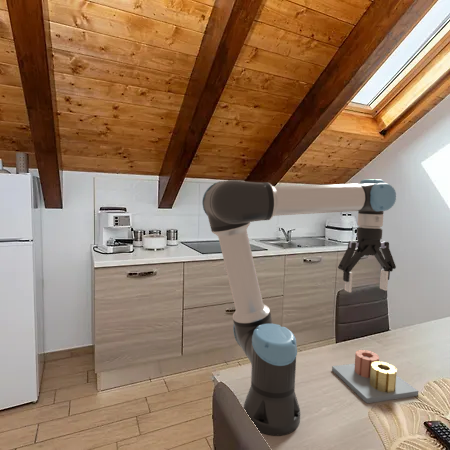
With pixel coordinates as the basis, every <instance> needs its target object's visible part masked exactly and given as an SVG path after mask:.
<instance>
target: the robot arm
mask: <svg viewBox="0 0 450 450" xmlns="http://www.w3.org/2000/svg"><path fill="white" fill-rule="evenodd" d="M396 201H397V193H396V190H395V188H394V187H393V186H392V184H389V183H387V182H385V181H384V180H383V179H377V178H376V179H373V178H371V179H369V178H367V179H362V180H360V182H359V183H345V184H344V183H339V184H338V183H337V184H315V185H314V184H310V185H307V184H306V185H279V186H275V185H272V184H271V183H270V182H255V181H244V180H237V179H231V180H223V181H222V180H221V181H217V182H215V183H213V184H211V185H210V186H209V187H208V188H207V189H206V190H205V192H204V193H203V196H202V202H201V203H202V208H203V212H204V213H205V214H206V216H207V217H208V222H209V227H210V231H211V233H212V234H214V235H216V236H217V238H218V240H219V247H220V249H221V253H222V254H221V255H222V258H223V262H224V267H225V270H226V275H227V279H228V283H229V287H230V291H231V292H230V293H231V295H232V300H233V304H234V308H235V311H234V312H233V313H232V321H233V329H232V331H233V335H234V339H235V341H236V343H237V345H239V347H240V348H241V349H242V351H243V353H244V355H246V357H247V359H248V360H249V362H250V364H251V370H250V371H251V376H250V379H251V380H250V387H249V390H248V392H247V395H246V397H245V400H244V404H243V410H244V409H245V410H246V412H247V414H248V415H249V417H250V418H251V420H252V421H253V422H254V424H255V425H256V427H257V428H258V430H259V431H260V433H262V434H266V435H269V436H270V435H271V436H283V435H284V436H285V435H289V434H291V433H292V432H294V431H296V429H297V428H298V427H299V425H300V424H301V423H300V422H301V408H300V405H299V402H298V398H297V394H296V392H295V391H296V390H295V389H296V388H295V386H296V372H297V371H296V368H297V355H298V346H297V339H296V336H295V335H294V333H293V331H291V330H290V329H289V328H288V327H285V326H281V325H280V324H278V323H274V322H273V319H272V318H273V317H272V314H271V309H270V307H269V306H268V305H266V304H265V303H264V302H263V301H264V300H263V297H262V292H261V289H260V288H261V287H260V284H259V280H258V279H259V278H258V274H257V270H256V266H255V265H256V264H255V262H254V257H253V253H252V252H253V251H252V248H251V244H250V240H249V234H248V227H249V226H250V224H251V223H254V222H261V221H271V219H273V217H275V216H279V217H280V216H293V215H310V214H312V215H313V214H328V213H329V214H330V213H345V212H346V213H347V212H358V215H357V229H356V237H357V241H356V242H355V241H351V240H349V241H348V243H347V248H346V250H345V252H344V255H343V256H342V258H341V260H340V263H339V264H338V266H337V268H338V270H341V271H343V272H342V273H343V276H342V280H343V282H344V291H346V292H347V293H352V289H353V288H352V286H353V272H352V270H353V269H354V267H356V265H357V264H358V263H359V261H360V260H361V258H364V257H365V256H366V257H367V256H374V257H375V259H376V261H377V262H378V264H379V265H380V266H381V268H382V269H380V273H379V274H380V279H379V289H380V290H383V291H388V282H389V280H390V274H391V272H393V271H394V270H395V269H396V268H397V265H396V263H395V260H394V257H393V256H392V252H391V250H390V243H389V241H385V240H382V239H383V229H382V228H381V227H383V225H384V212H385V211H389V210H391V208H393V207H394V205H395V203H396ZM358 226H359V227H358ZM380 249H381V250H380ZM259 431H258V432H259Z"/></svg>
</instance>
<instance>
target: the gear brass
mask: <svg viewBox="0 0 450 450" xmlns="http://www.w3.org/2000/svg"><path fill="white" fill-rule="evenodd" d="M382 369H385V370H382ZM397 371H398V368H396V366H394V365H393V364H389V363H388V362H385V361H380V360H379V361H376V362H373V363H372V364H371V372H370V385H371V386H372V387H373V388H374V389H377V390H378V391H381V392H387V393H391V392H394V391H395V387H396V375H397Z"/></svg>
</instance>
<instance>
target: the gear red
mask: <svg viewBox="0 0 450 450" xmlns="http://www.w3.org/2000/svg"><path fill="white" fill-rule="evenodd" d="M354 355H355V356H354V357H355V359H354V364H355V370H354V371H355V372H356V373H357V374H358V375H361V376H362V377H366V378H368V377H369V378H370V372H371V364H372V363H373V362H376V361H379V362H380V355H379V354H377V353H375V352H373V351H372V350H367V349H365V350H364V349H358V350H356V351H355V354H354ZM364 356H367V357H364ZM368 357H369V358H368Z"/></svg>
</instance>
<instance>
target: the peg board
mask: <svg viewBox="0 0 450 450" xmlns="http://www.w3.org/2000/svg"><path fill="white" fill-rule="evenodd" d="M364 357H367V356H364ZM368 358H369V357H368ZM354 370H355V363H349V364H339V365H332V366H331V371H332V372H333V373H334V374H335V375H337V377H338V378H340V380H342V381H343V383H345V384H346V386H348V387H349V388H350V389H351V390H352V391H353V392H354V393H355V394H356V395H357V396H358V397H359V398H360V399H362V401H364V403H366V404H370V403H371V404H372V403H378V402H385V401H390V400H397V399H405V398H412V397H417V395H418V396H419V390H418V389H416V388H415V387H414V386H413V385H411V384H409V382H407V381H406V380H404V378H403V379H402V378H401V377H400V376H399V375H397V374H396V387H395V391H394V392H391V393H387V392H381V391H378V390H377V389H374V388H373V387H372V386H371V385H370V378H369V377H368V378H366V377H362V376H361V375H358V374H357V373H356V372H355V371H354ZM382 370H385V369H382Z"/></svg>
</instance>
